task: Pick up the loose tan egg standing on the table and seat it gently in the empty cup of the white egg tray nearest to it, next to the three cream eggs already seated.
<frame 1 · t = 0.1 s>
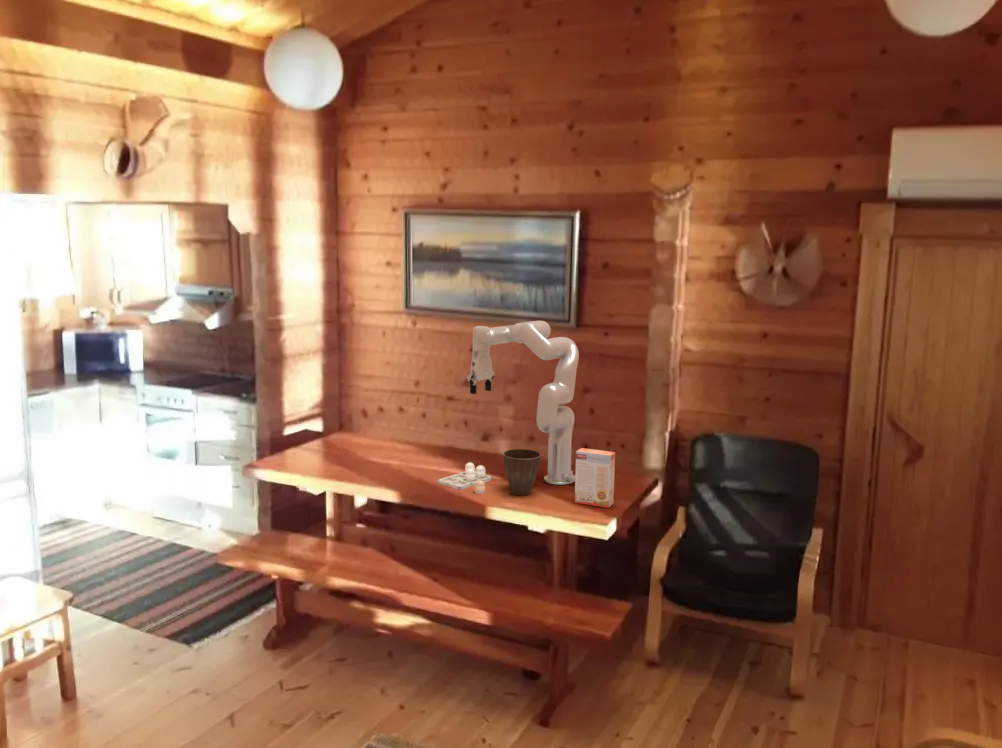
hand: (480, 392, 387), 31 cm above the table, fingers open, 9 cm apart
cream egg c: (470, 482, 356), point 1 cm above the table, touching white egg tray
tan egg: (479, 494, 344), on the table
cream egg b: (469, 476, 364), point 1 cm above the table, touching white egg tray
plant pot: (521, 493, 347), on the table
cracker box: (594, 504, 335), on the table
white egg tray: (464, 483, 358), on the table
cream egg a: (480, 479, 360), point 1 cm above the table, touching white egg tray
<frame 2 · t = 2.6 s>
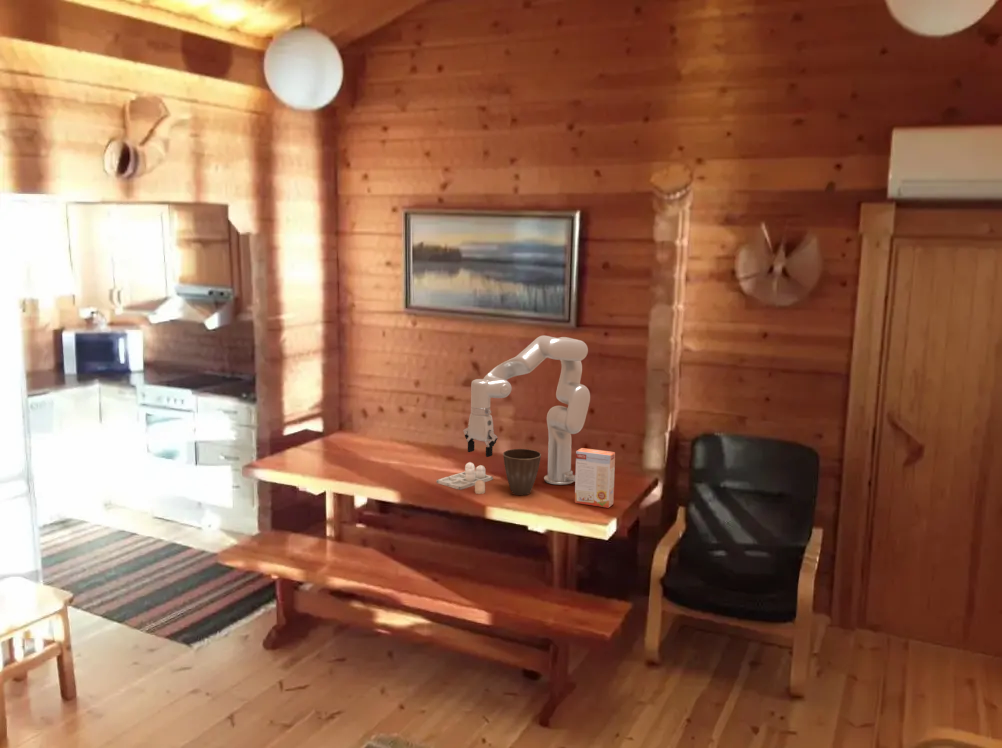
hand: (479, 453, 341), 17 cm above the table, fingers open, 9 cm apart
nothing on the table moved.
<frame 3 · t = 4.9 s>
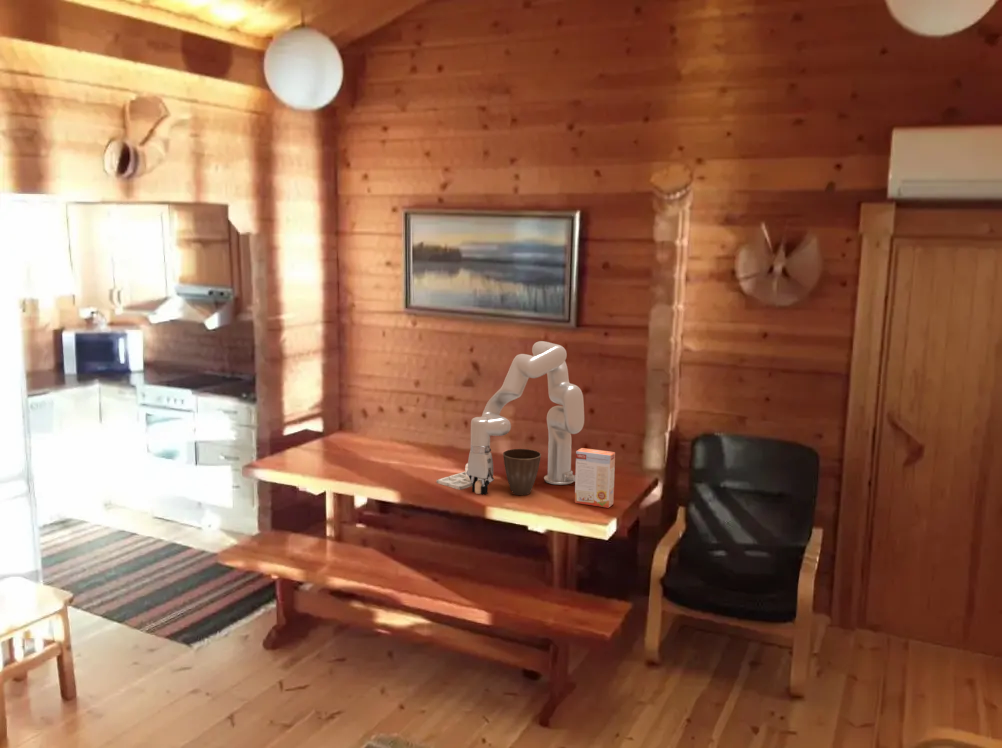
hand: (479, 493, 344), 1 cm above the table, fingers closed on tan egg, 4 cm apart
tan egg: (479, 494, 344), on the table, touching gripper
everything else where it was.
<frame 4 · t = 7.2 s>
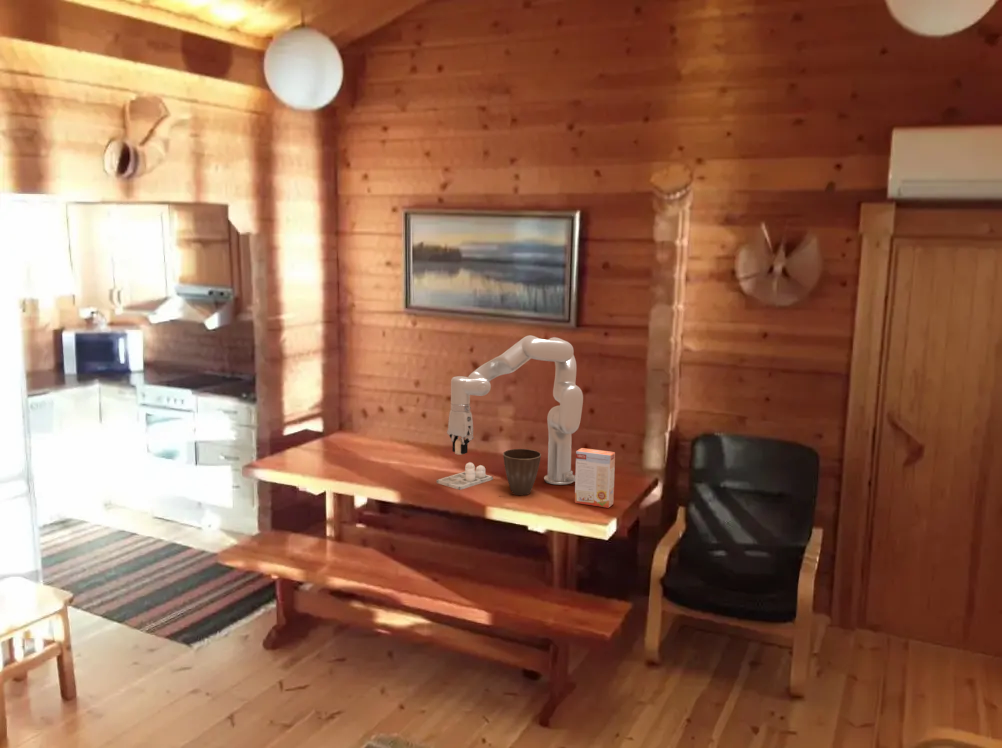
hand: (459, 451, 349), 15 cm above the table, fingers closed on tan egg, 4 cm apart
tan egg: (459, 453, 349), point 15 cm above the table, touching gripper
everything else where it was.
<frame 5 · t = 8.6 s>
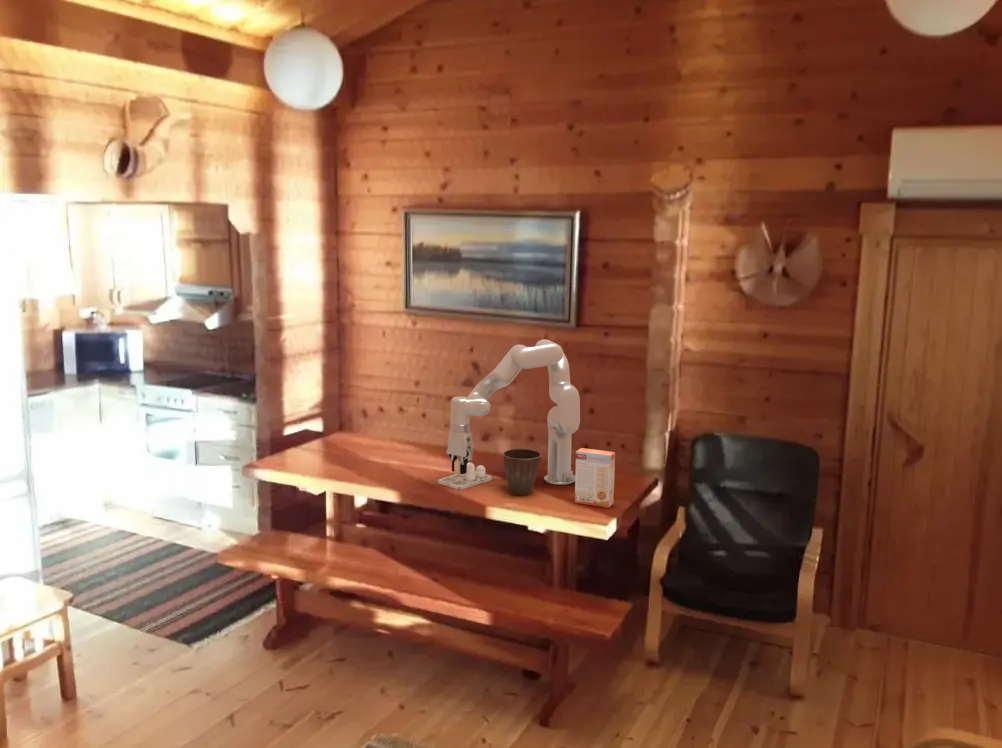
hand: (459, 471, 350), 7 cm above the table, fingers closed on tan egg, 4 cm apart
tan egg: (459, 473, 350), point 6 cm above the table, touching gripper
everything else where it was.
when the fingers open (3 cm above the table, at t = 9.7 s): tan egg drops 1 cm, resting on white egg tray.
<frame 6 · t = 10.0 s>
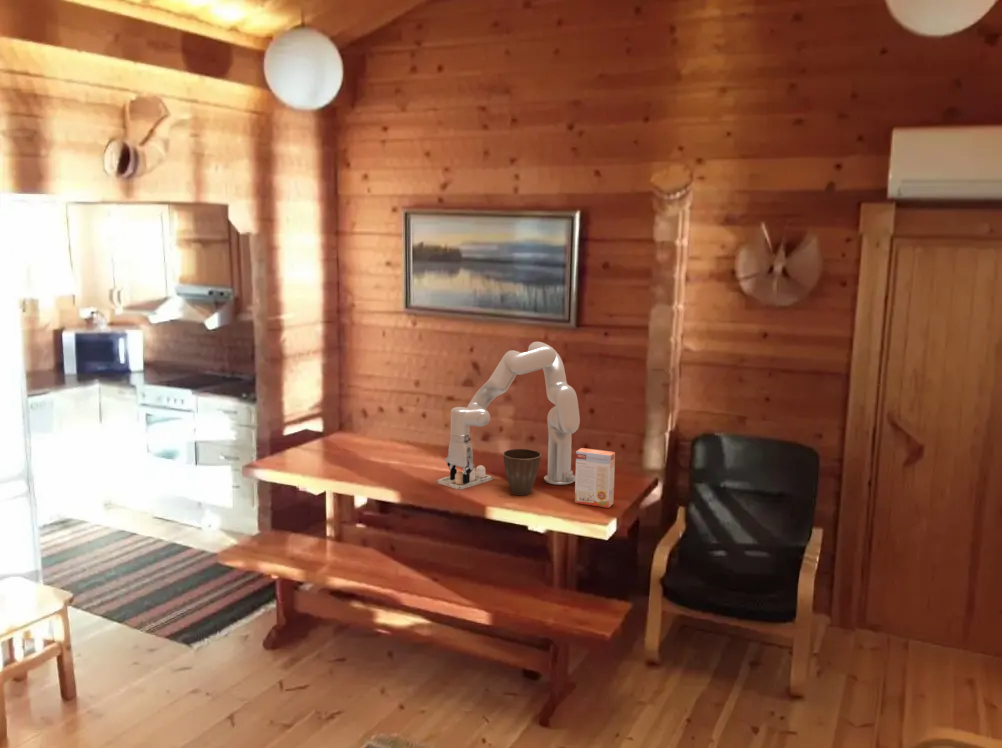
hand: (459, 480, 351), 3 cm above the table, fingers open, 6 cm apart
tan egg: (459, 485, 351), point 1 cm above the table, touching white egg tray
everything else where it was.
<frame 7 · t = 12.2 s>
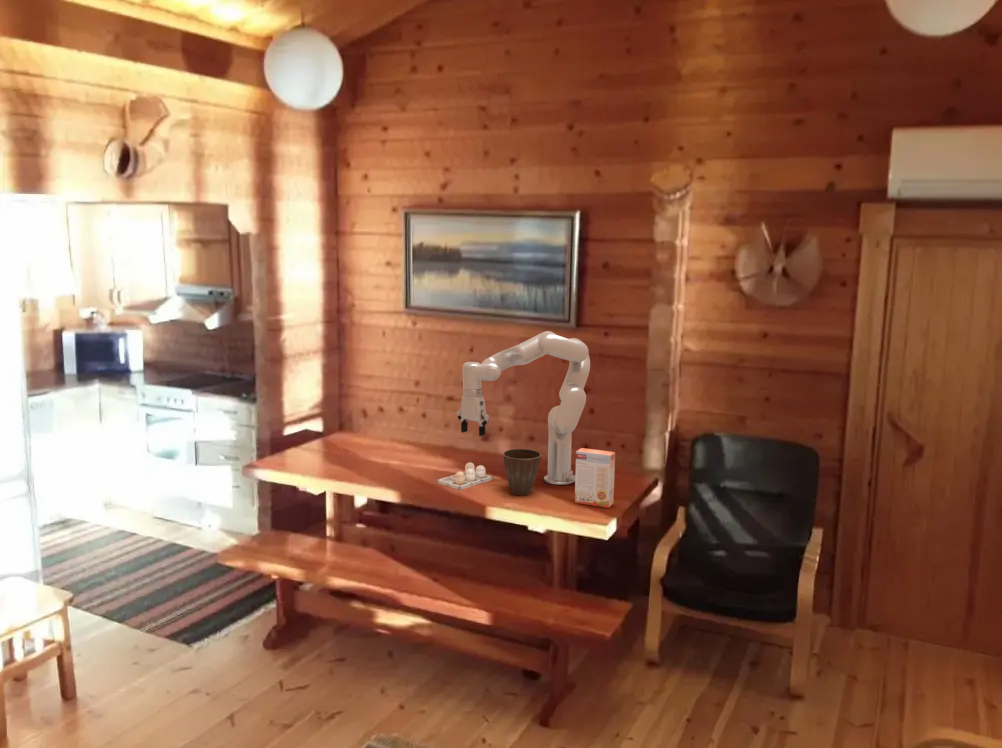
hand: (473, 433, 355), 21 cm above the table, fingers open, 9 cm apart
nothing on the table moved.
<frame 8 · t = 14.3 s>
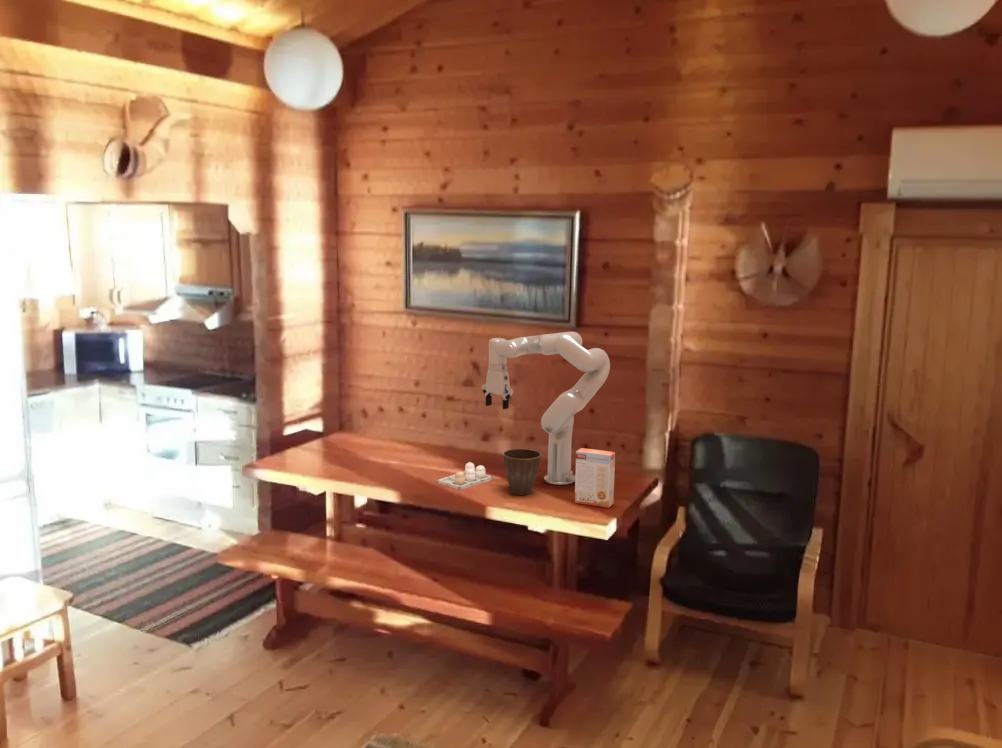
hand: (497, 407, 371), 28 cm above the table, fingers open, 9 cm apart
nothing on the table moved.
at the end: tan egg 0.1 cm from the target spot on the white egg tray, point 1.0 cm above the white egg tray's base; tan egg tilted 0°; the gripper is holding nothing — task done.
